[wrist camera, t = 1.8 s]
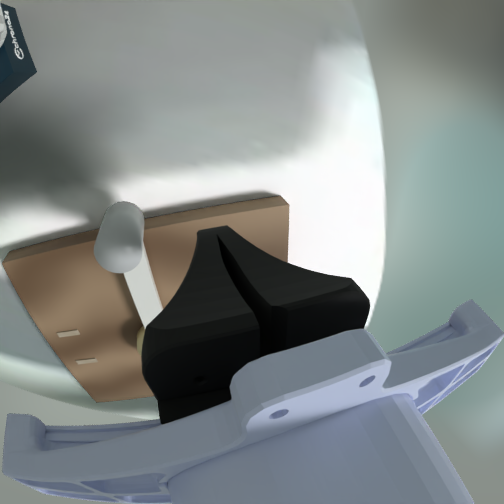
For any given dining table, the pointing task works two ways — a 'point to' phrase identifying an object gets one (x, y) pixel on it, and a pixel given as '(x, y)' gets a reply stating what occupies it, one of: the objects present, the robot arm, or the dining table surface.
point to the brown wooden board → (124, 289)
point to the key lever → (129, 259)
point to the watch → (12, 53)
